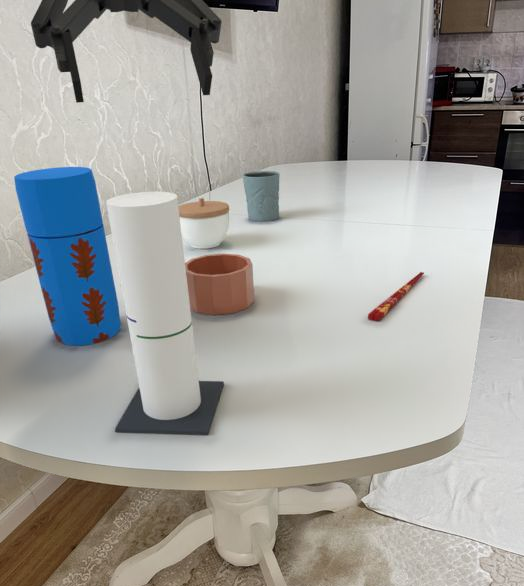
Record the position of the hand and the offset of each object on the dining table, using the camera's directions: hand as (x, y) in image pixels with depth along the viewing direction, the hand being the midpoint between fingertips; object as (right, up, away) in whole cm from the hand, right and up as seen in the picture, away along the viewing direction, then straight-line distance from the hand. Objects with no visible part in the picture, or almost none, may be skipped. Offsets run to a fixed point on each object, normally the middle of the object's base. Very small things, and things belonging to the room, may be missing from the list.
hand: (145, 89), depth 55 cm
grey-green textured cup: (+13, +10, +93) cm, 94 cm away
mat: (+1, -35, +10) cm, 36 cm away
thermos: (-16, -25, +31) cm, 43 cm away
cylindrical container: (+1, -34, +10) cm, 36 cm away
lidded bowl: (-1, -2, +72) cm, 72 cm away
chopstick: (+37, -18, +38) cm, 56 cm away
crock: (+5, -19, +40) cm, 44 cm away
